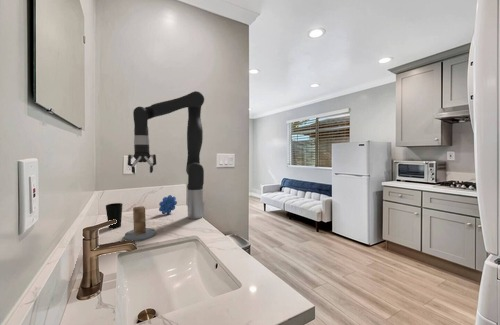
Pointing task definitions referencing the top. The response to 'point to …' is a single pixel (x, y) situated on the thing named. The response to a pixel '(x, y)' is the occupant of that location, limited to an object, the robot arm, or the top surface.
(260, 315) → the top surface
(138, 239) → the slate dish
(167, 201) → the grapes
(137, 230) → the walnut block
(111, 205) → the cup
